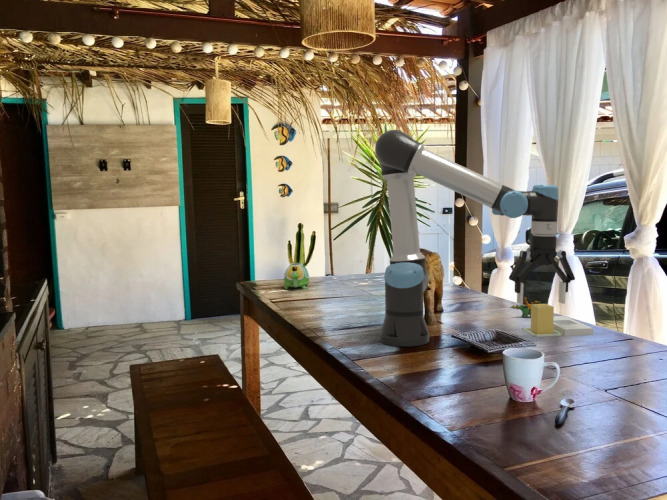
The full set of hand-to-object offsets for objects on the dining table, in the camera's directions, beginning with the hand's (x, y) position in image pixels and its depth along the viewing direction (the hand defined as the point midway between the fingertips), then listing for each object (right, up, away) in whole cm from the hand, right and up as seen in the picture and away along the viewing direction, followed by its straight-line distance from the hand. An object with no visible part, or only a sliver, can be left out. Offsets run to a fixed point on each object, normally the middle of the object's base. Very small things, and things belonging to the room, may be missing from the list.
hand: (540, 303), depth 181 cm
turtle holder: (-82, -2, +98) cm, 128 cm away
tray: (+1, -10, +1) cm, 10 cm away
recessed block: (+10, -10, +6) cm, 15 cm away
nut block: (+1, -10, +1) cm, 10 cm away
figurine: (+3, -8, +23) cm, 25 cm away
